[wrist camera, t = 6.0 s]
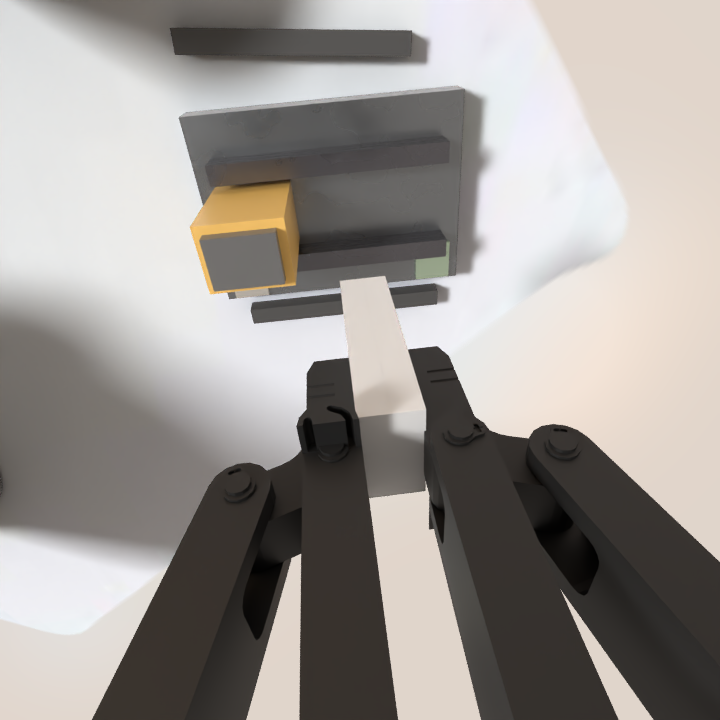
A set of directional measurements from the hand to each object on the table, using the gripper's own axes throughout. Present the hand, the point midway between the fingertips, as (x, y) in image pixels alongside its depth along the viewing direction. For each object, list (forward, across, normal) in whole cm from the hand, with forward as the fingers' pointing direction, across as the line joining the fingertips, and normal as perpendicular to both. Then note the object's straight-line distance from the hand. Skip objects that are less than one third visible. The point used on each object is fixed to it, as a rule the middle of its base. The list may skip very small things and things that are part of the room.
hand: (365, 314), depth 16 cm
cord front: (+14, -2, +8) cm, 16 cm away
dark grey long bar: (+14, 0, -7) cm, 15 cm away
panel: (+14, 0, 0) cm, 14 cm away
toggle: (+12, -5, 0) cm, 13 cm away
